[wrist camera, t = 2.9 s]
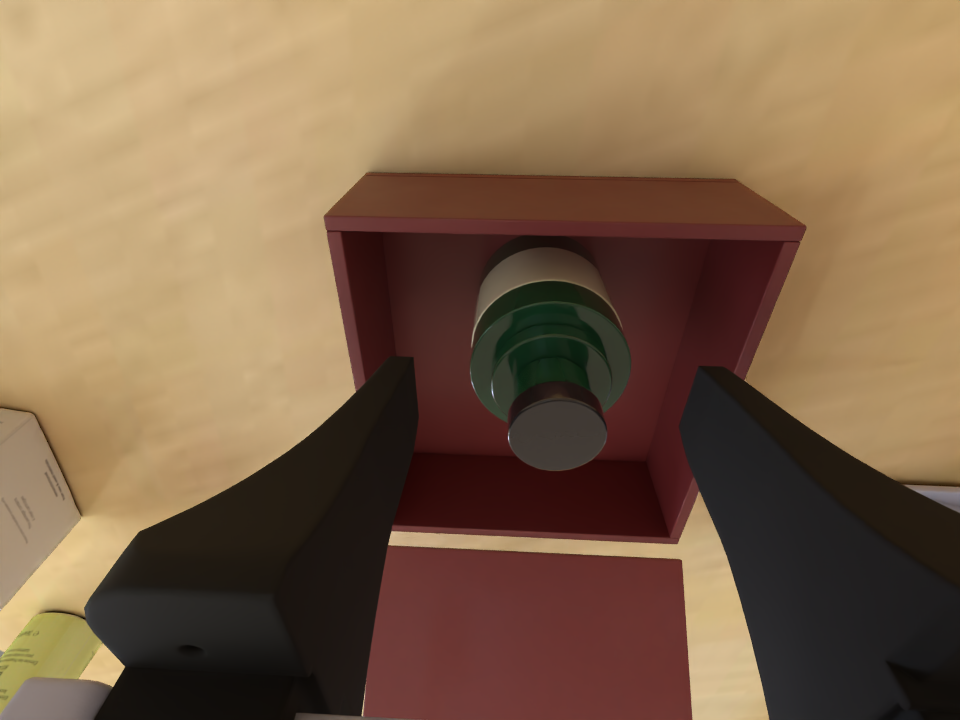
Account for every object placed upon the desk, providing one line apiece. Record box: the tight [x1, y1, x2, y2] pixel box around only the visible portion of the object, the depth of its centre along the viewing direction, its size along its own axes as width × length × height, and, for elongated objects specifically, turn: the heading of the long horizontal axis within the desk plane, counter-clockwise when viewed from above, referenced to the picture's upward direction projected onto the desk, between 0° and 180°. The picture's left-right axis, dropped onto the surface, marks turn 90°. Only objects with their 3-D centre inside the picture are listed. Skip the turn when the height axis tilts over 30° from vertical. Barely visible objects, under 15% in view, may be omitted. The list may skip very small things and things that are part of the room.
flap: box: [363, 545, 692, 720], centre depth 18 cm, size 12×6×1 cm
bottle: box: [470, 235, 631, 471], centre depth 14 cm, size 4×4×8 cm
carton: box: [324, 173, 806, 544], centre depth 17 cm, size 12×13×4 cm
